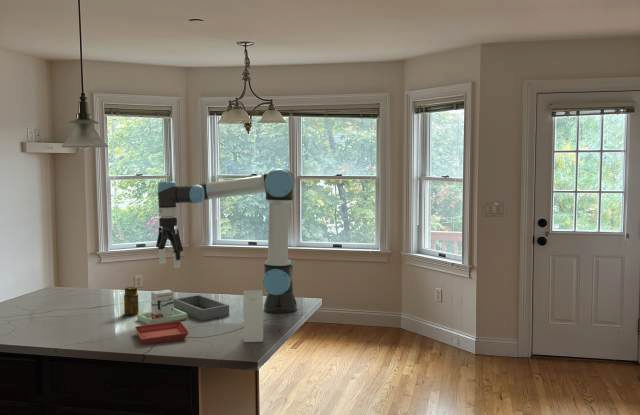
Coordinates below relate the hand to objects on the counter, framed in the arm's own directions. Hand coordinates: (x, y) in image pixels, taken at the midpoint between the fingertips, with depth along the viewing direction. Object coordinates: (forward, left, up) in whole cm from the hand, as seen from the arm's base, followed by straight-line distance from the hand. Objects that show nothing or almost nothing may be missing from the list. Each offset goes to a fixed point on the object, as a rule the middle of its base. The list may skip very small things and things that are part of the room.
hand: (169, 265), depth 259 cm
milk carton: (-52, -9, -23) cm, 57 cm away
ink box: (-2, +5, -22) cm, 23 cm away
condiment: (+15, +12, -23) cm, 30 cm away
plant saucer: (-25, +16, -23) cm, 37 cm away
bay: (-1, -14, -23) cm, 27 cm away
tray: (-2, +5, -23) cm, 23 cm away
